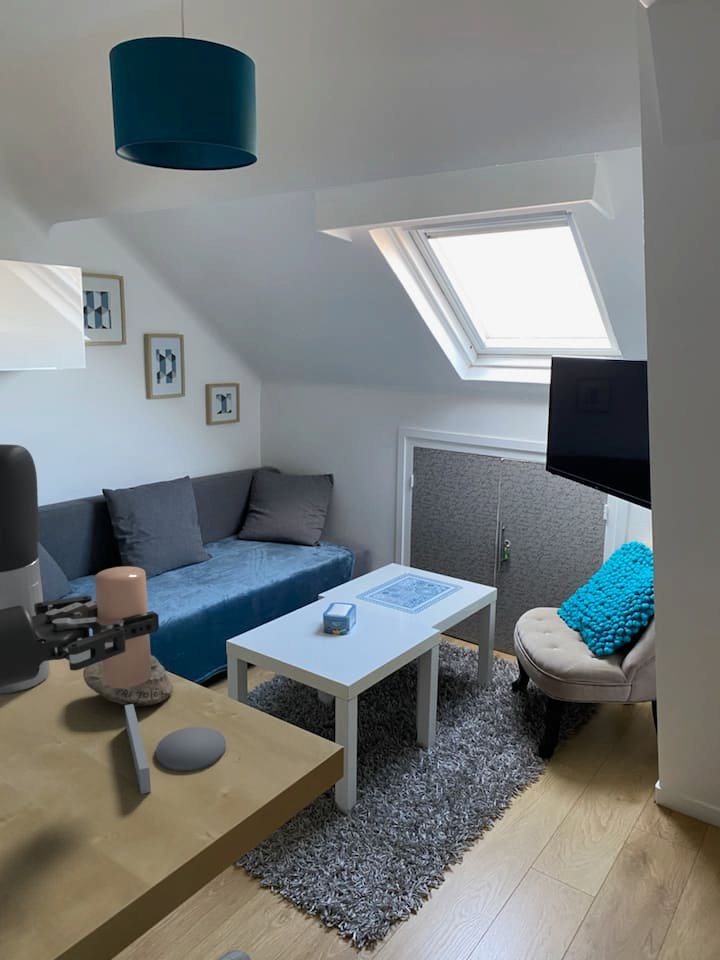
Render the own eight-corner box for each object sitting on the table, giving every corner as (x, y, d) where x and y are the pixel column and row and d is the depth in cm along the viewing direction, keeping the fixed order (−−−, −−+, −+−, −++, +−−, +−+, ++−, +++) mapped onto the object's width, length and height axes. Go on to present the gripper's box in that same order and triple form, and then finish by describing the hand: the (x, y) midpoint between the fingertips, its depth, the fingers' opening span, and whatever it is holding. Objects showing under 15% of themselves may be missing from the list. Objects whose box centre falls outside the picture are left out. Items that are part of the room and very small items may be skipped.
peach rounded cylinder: (101, 669, 83) (93, 569, 81) (148, 661, 85) (142, 564, 83) (104, 691, 79) (96, 586, 76) (154, 682, 81) (148, 579, 78)
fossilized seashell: (138, 714, 91) (125, 659, 92) (73, 727, 95) (60, 673, 95) (187, 689, 101) (174, 639, 102) (126, 701, 105) (114, 653, 105)
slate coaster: (151, 739, 89) (151, 735, 89) (217, 725, 92) (217, 721, 92) (162, 777, 82) (161, 773, 82) (233, 760, 85) (232, 756, 85)
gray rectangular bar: (126, 727, 92) (124, 705, 91) (134, 725, 92) (133, 703, 91) (141, 794, 79) (139, 769, 78) (150, 792, 79) (149, 767, 79)
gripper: (-8, 644, 66) (172, 600, 76) (-39, 594, 77) (122, 562, 87) (0, 719, 67) (175, 667, 77) (-31, 660, 78) (126, 621, 89)
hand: (146, 611), depth 82 cm, fingers closed on peach rounded cylinder, 5 cm apart
